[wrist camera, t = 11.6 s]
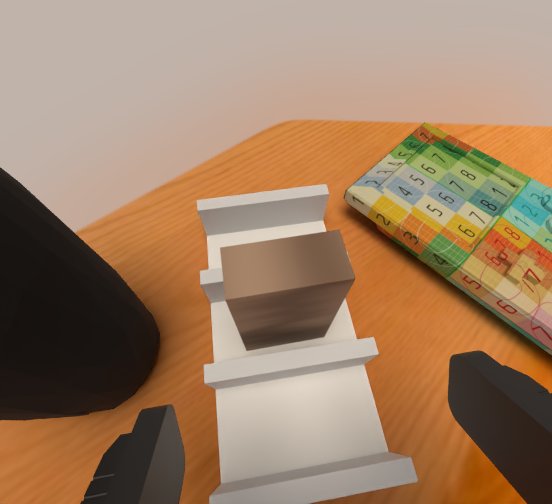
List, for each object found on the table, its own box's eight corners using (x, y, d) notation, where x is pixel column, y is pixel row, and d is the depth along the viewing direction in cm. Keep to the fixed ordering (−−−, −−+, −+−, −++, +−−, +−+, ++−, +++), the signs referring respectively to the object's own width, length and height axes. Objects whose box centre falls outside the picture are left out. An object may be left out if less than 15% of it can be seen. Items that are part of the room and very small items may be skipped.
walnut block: (246, 351, 21) (225, 299, 13) (242, 316, 22) (219, 247, 14) (324, 337, 22) (355, 278, 13) (315, 303, 23) (339, 229, 14)
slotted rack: (224, 501, 18) (210, 523, 14) (208, 232, 27) (196, 200, 23) (388, 469, 19) (418, 481, 15) (319, 217, 28) (326, 184, 24)
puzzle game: (628, 374, 17) (348, 182, 24) (560, 384, 21) (338, 217, 28) (683, 247, 21) (429, 113, 28) (617, 276, 25) (409, 153, 32)
